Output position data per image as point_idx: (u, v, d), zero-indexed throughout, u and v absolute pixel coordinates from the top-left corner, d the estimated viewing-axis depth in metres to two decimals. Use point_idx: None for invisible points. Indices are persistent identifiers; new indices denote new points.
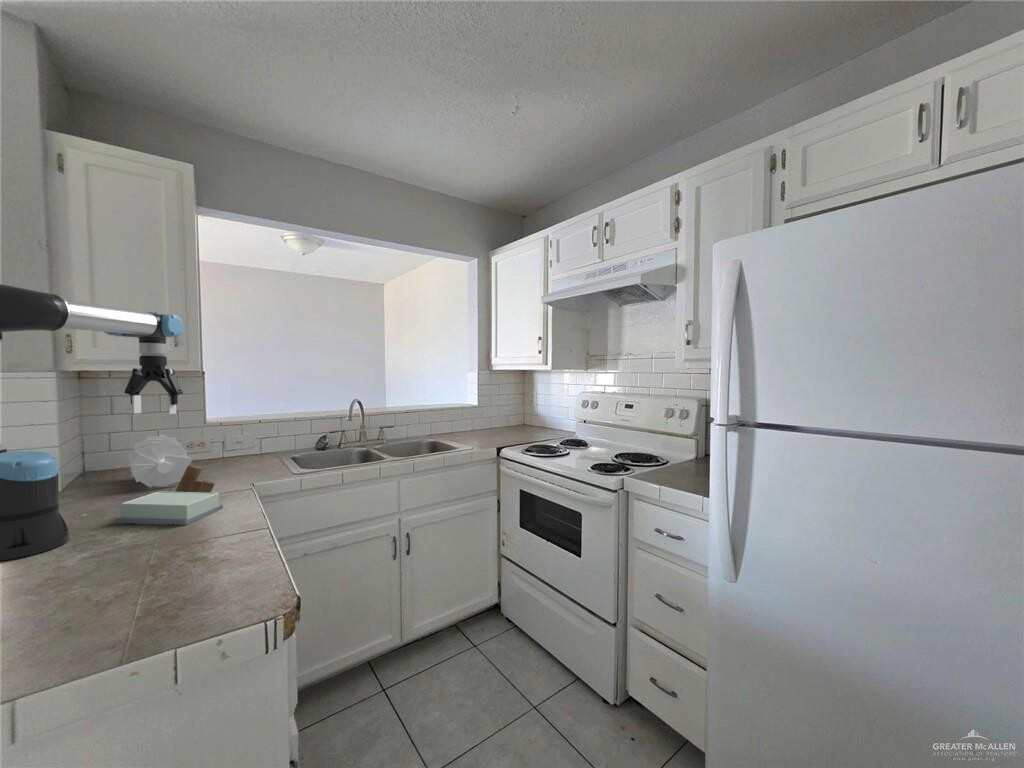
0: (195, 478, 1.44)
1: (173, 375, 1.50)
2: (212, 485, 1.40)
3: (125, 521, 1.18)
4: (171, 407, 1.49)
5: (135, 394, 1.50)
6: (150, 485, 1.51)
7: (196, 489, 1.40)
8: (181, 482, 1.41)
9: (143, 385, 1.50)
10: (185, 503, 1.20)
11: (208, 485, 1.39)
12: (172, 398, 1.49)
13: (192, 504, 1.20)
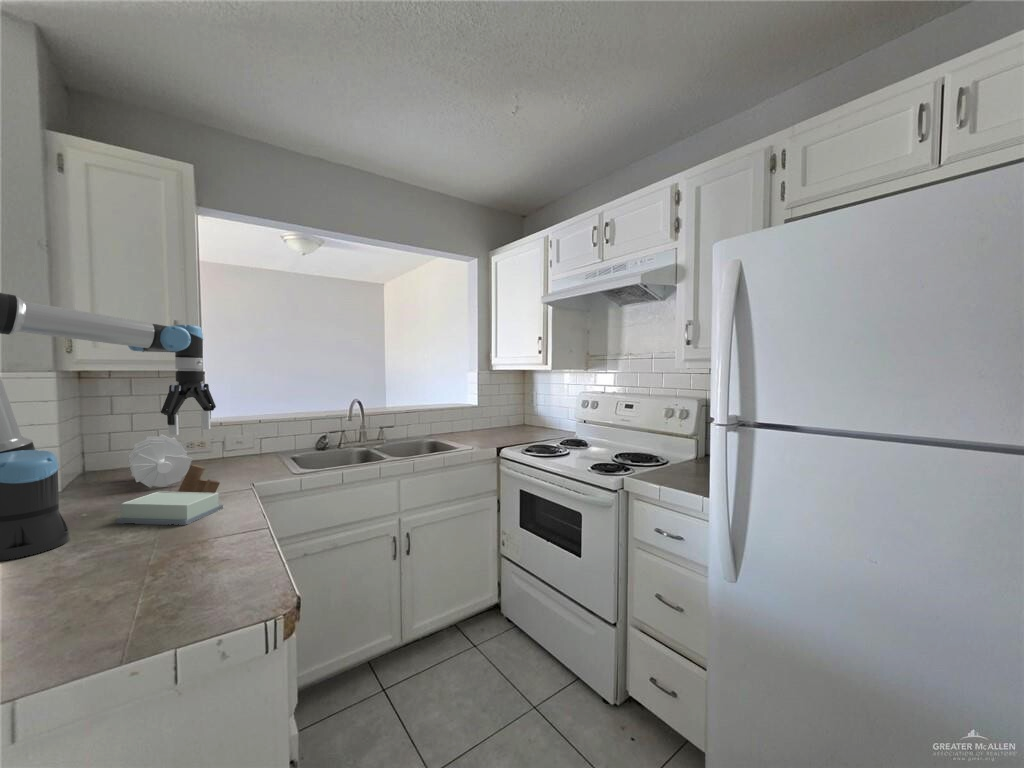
0: (198, 477, 1.45)
1: (173, 392, 1.35)
2: (218, 484, 1.41)
3: (125, 521, 1.18)
4: (170, 427, 1.35)
5: (206, 409, 1.49)
6: (150, 485, 1.51)
7: (201, 488, 1.41)
8: (184, 482, 1.42)
9: (201, 401, 1.46)
10: (185, 503, 1.20)
11: (214, 484, 1.40)
12: None
13: (192, 504, 1.20)
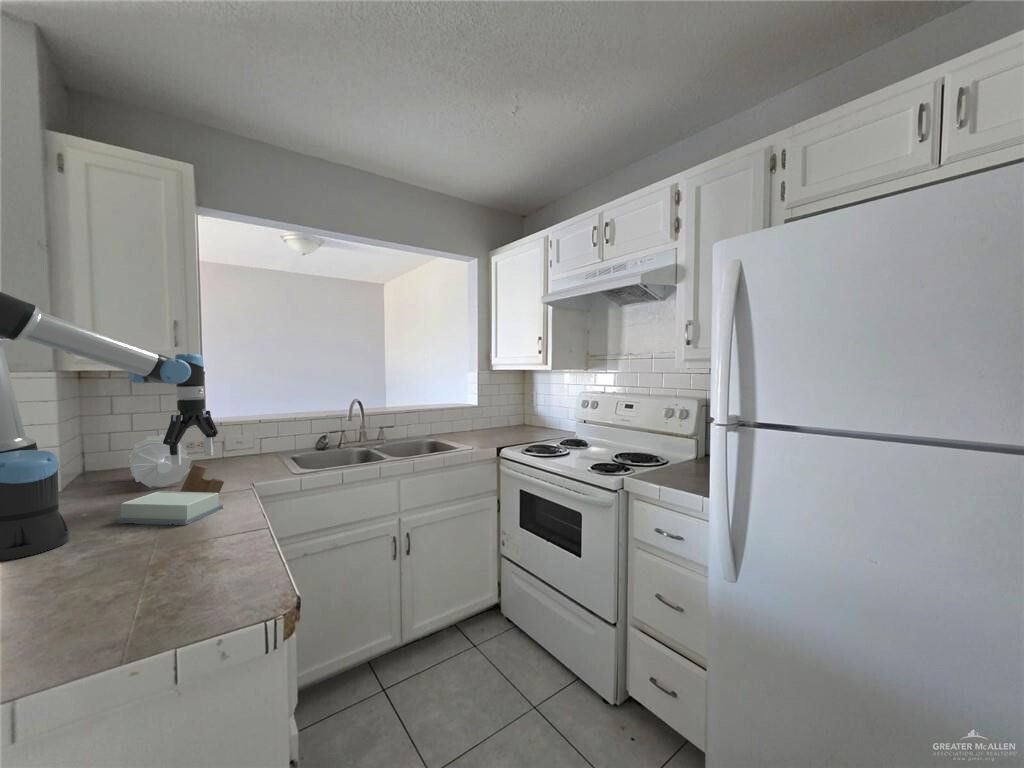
0: (201, 477, 1.45)
1: (175, 422, 1.35)
2: (222, 483, 1.42)
3: (125, 521, 1.18)
4: (173, 457, 1.36)
5: (208, 436, 1.50)
6: (150, 485, 1.51)
7: (205, 487, 1.42)
8: (187, 481, 1.43)
9: (203, 428, 1.47)
10: (185, 503, 1.20)
11: (219, 483, 1.42)
12: None
13: (192, 504, 1.20)
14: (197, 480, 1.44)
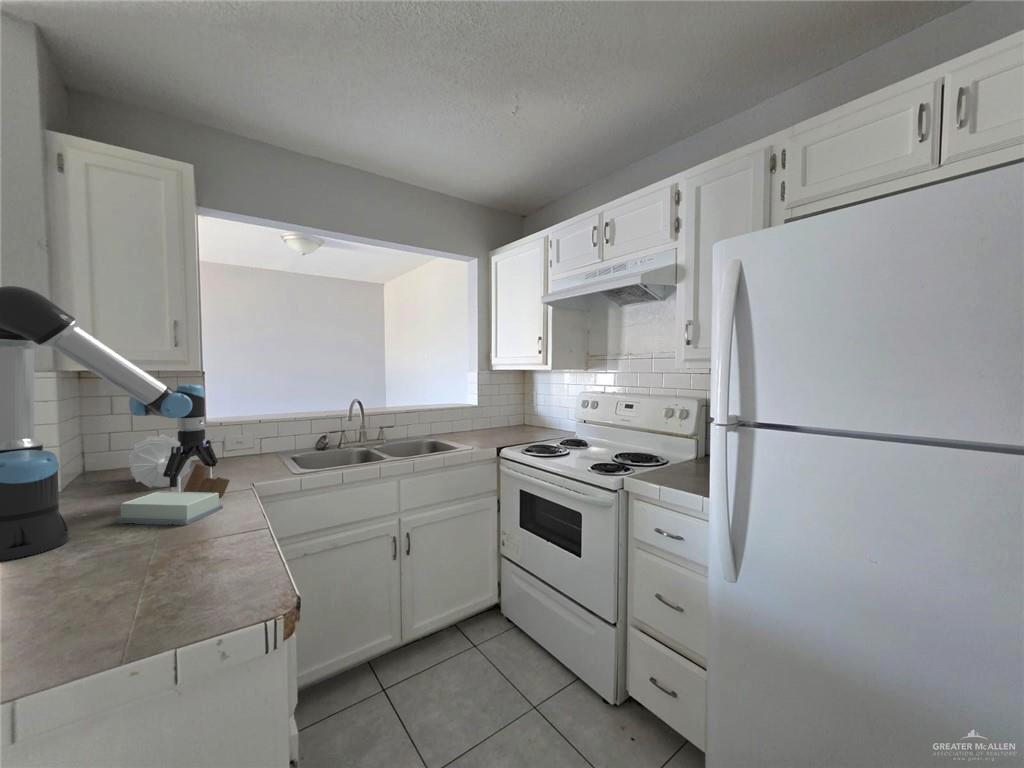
0: (204, 476, 1.46)
1: (175, 454, 1.35)
2: (228, 481, 1.44)
3: (125, 521, 1.18)
4: (173, 489, 1.36)
5: (208, 465, 1.50)
6: (150, 485, 1.51)
7: (209, 486, 1.43)
8: (190, 481, 1.43)
9: (203, 458, 1.47)
10: (185, 503, 1.20)
11: (225, 481, 1.43)
12: None
13: (192, 504, 1.20)
14: (200, 479, 1.45)
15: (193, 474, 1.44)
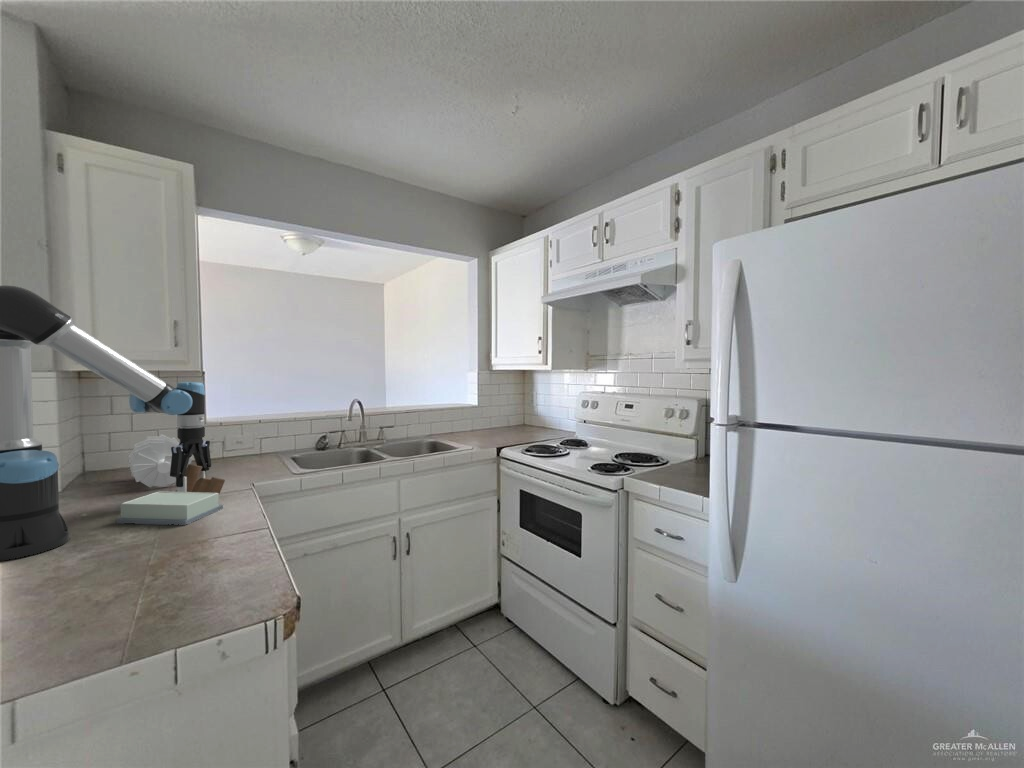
0: (197, 476, 1.43)
1: (176, 454, 1.36)
2: (223, 481, 1.42)
3: (125, 521, 1.18)
4: (179, 489, 1.38)
5: (201, 469, 1.47)
6: (150, 485, 1.51)
7: (204, 486, 1.41)
8: None
9: (199, 459, 1.45)
10: (185, 503, 1.20)
11: (220, 482, 1.41)
12: None
13: (192, 504, 1.20)
14: (194, 480, 1.42)
15: (186, 475, 1.41)
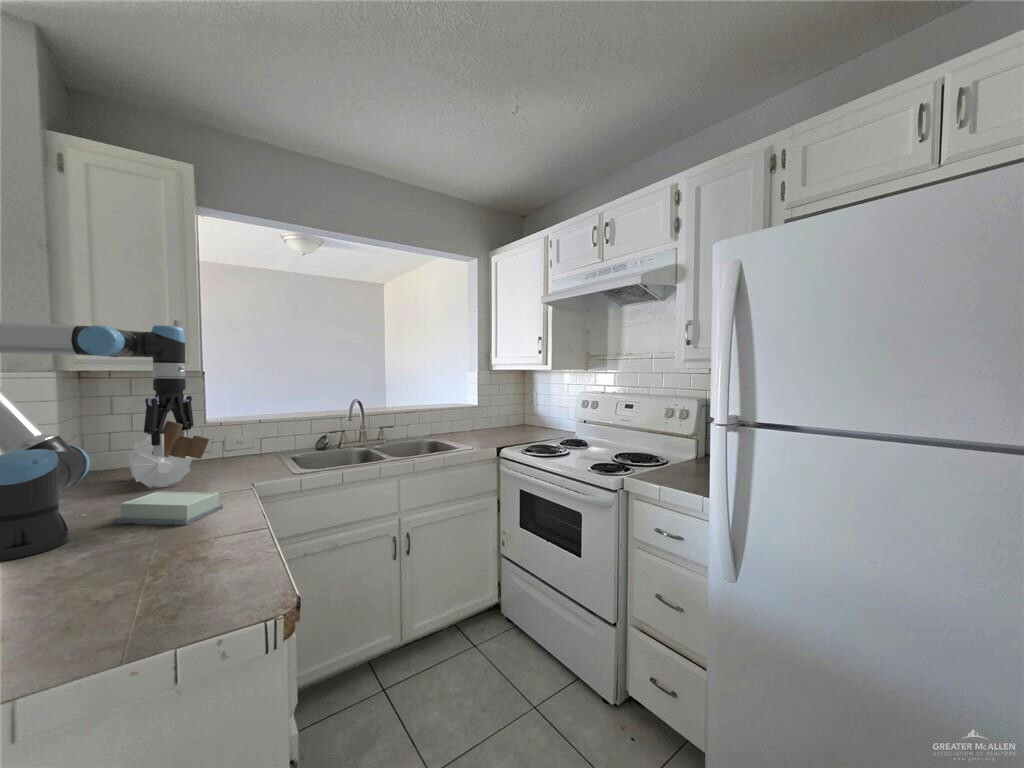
0: (177, 435, 1.25)
1: (152, 407, 1.17)
2: (207, 440, 1.24)
3: (125, 521, 1.18)
4: (155, 448, 1.20)
5: (182, 428, 1.28)
6: (150, 485, 1.51)
7: (185, 446, 1.23)
8: None
9: (179, 415, 1.26)
10: (185, 503, 1.20)
11: (203, 441, 1.23)
12: None
13: (192, 504, 1.20)
14: (173, 439, 1.24)
15: (164, 432, 1.22)
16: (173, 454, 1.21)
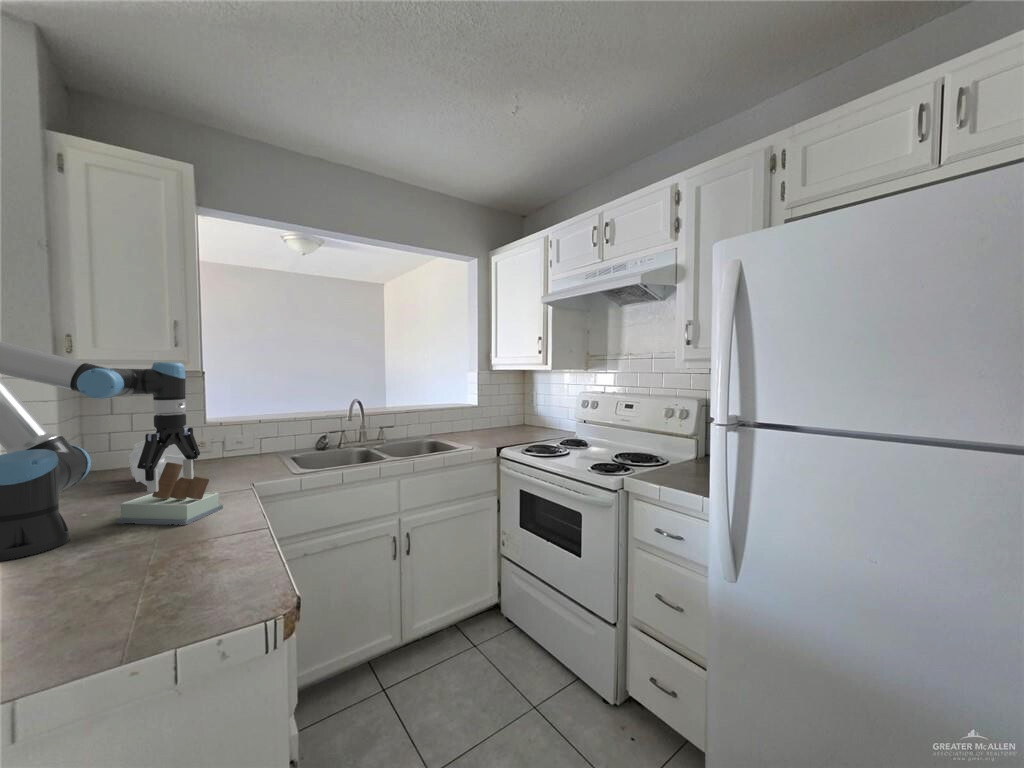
0: (177, 476, 1.25)
1: (150, 443, 1.17)
2: (207, 481, 1.24)
3: (125, 521, 1.18)
4: (149, 483, 1.18)
5: (188, 458, 1.30)
6: None
7: (185, 487, 1.23)
8: (161, 482, 1.22)
9: (183, 448, 1.28)
10: (185, 503, 1.20)
11: (204, 481, 1.23)
12: None
13: (192, 504, 1.20)
14: (173, 480, 1.24)
15: (164, 474, 1.23)
16: (174, 496, 1.21)
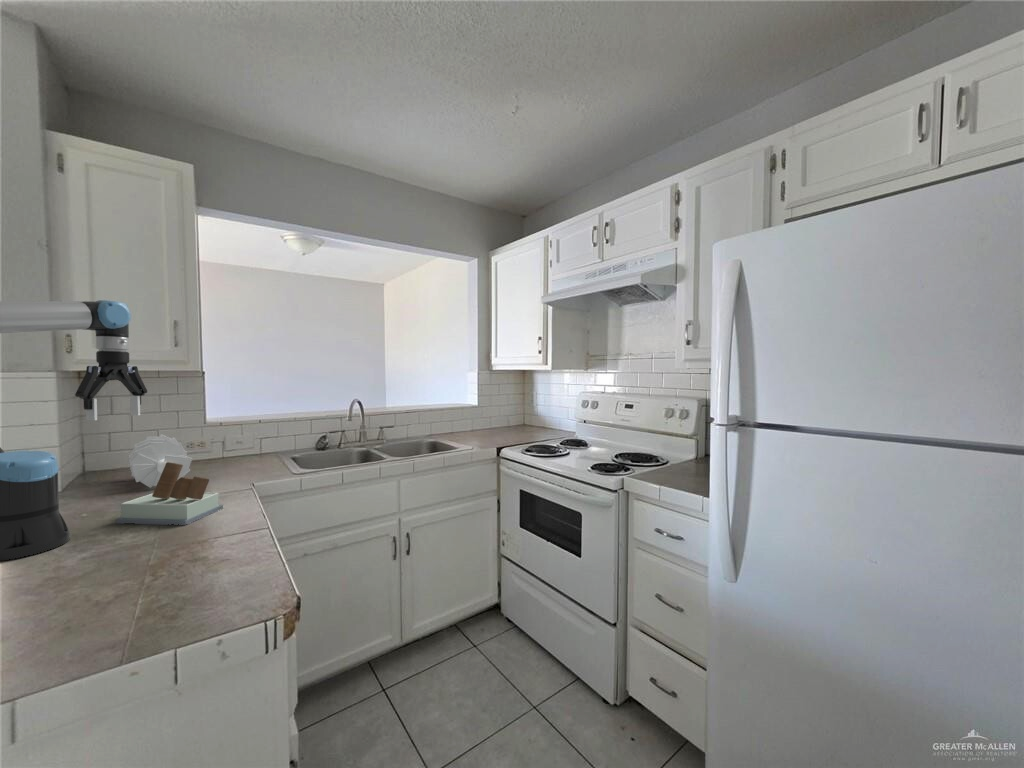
0: (177, 476, 1.25)
1: (91, 374, 1.23)
2: (207, 481, 1.24)
3: (125, 521, 1.18)
4: (88, 412, 1.23)
5: (135, 394, 1.38)
6: (150, 485, 1.51)
7: (185, 487, 1.23)
8: (161, 482, 1.22)
9: (128, 385, 1.35)
10: (185, 503, 1.20)
11: (204, 481, 1.23)
12: None
13: (192, 504, 1.20)
14: (173, 480, 1.24)
15: (164, 474, 1.23)
16: (174, 496, 1.21)
